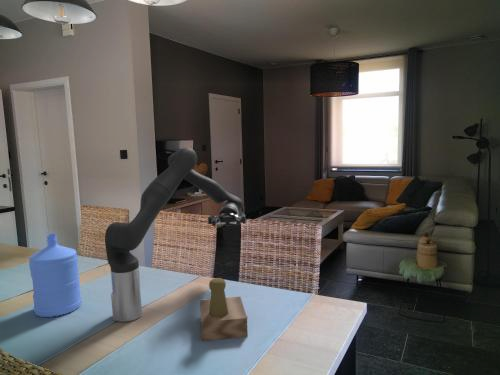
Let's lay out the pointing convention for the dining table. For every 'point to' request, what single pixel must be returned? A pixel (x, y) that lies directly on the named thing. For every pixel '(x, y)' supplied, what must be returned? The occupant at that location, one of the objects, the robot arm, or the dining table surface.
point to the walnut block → (224, 321)
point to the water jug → (55, 279)
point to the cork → (218, 298)
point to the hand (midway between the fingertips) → (225, 223)
